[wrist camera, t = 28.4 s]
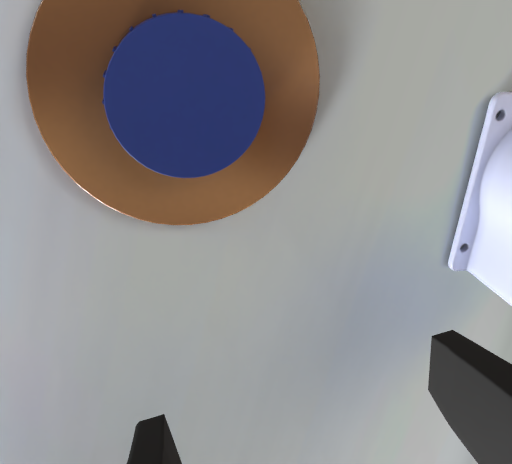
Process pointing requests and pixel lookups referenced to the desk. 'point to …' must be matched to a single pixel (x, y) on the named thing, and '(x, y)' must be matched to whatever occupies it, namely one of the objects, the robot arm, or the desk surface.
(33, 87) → the coaster
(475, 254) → the robot arm
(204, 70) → the lid
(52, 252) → the desk surface
